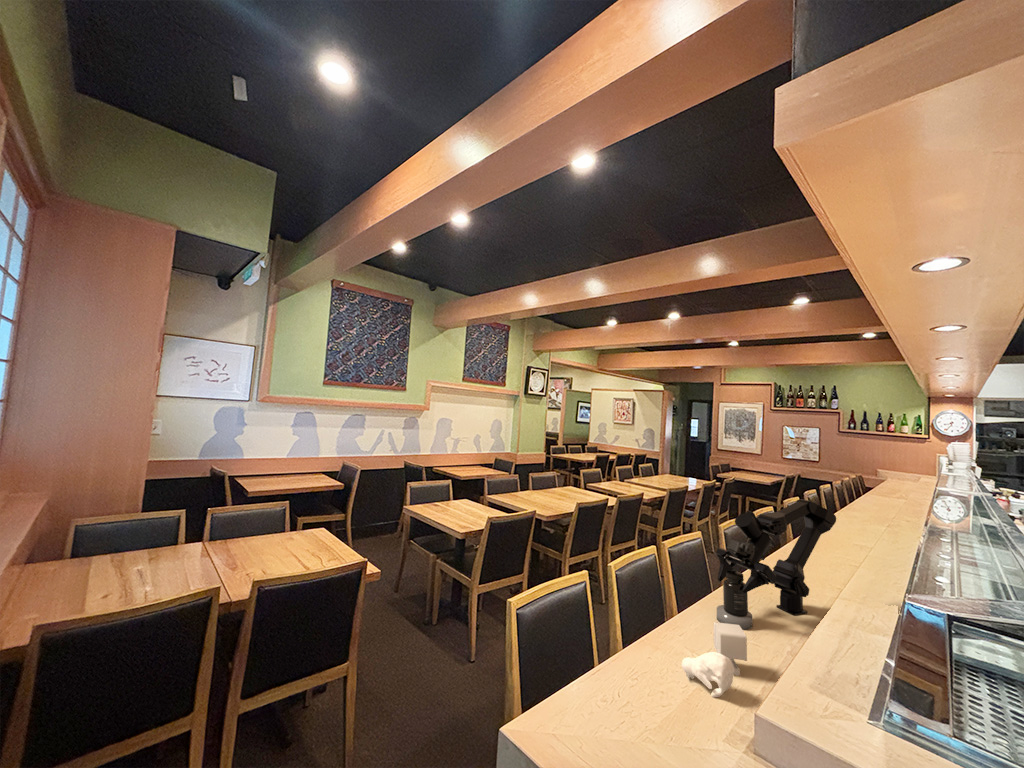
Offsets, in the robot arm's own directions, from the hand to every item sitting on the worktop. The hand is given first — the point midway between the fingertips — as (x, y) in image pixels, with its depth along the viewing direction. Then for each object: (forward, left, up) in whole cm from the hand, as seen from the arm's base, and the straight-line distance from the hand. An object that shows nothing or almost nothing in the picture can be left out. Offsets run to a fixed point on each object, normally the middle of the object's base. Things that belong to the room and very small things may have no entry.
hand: (730, 586), depth 133 cm
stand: (-1, 0, -11) cm, 11 cm away
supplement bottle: (-2, 0, -8) cm, 8 cm away
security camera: (+21, +19, -11) cm, 30 cm away
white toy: (+32, +23, -11) cm, 41 cm away
